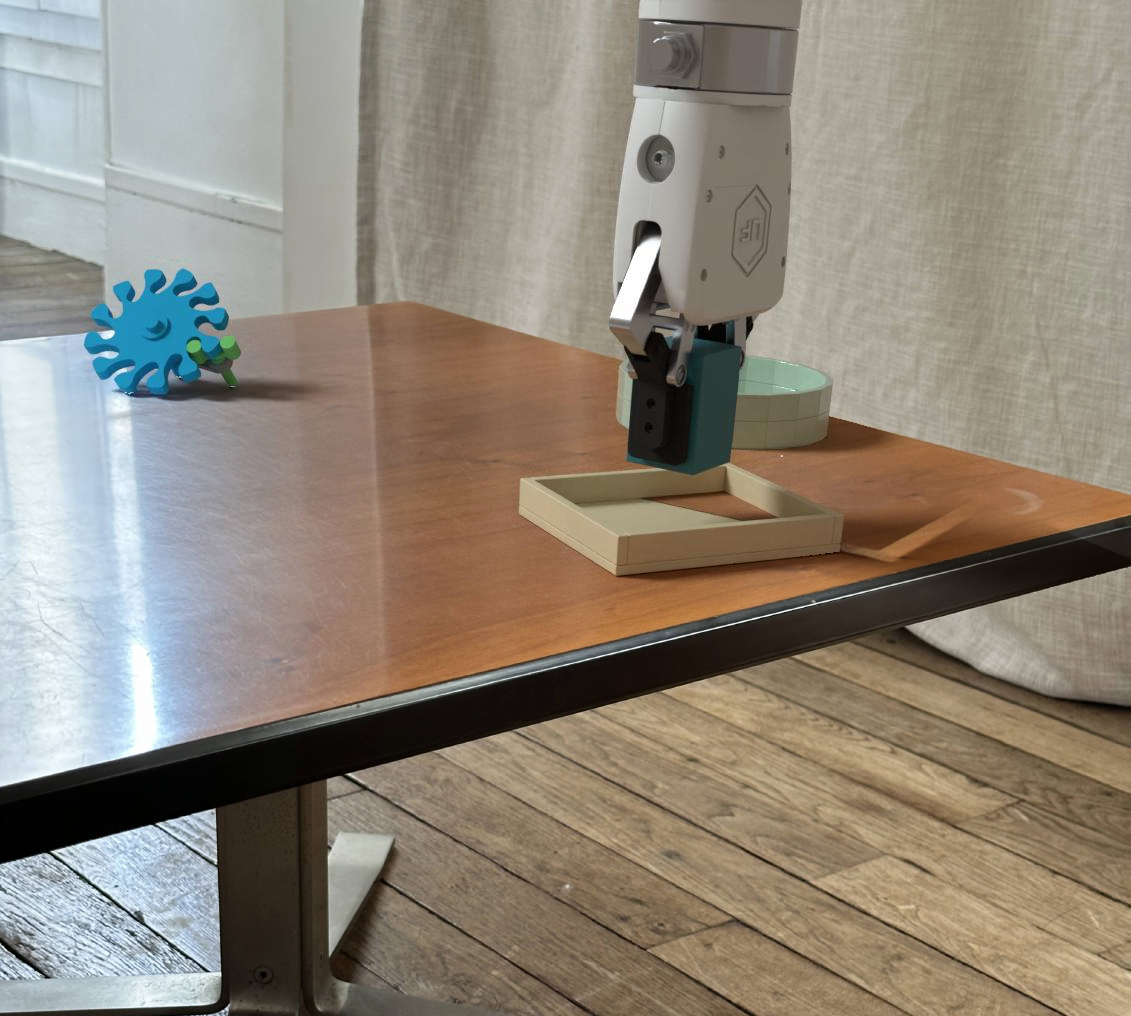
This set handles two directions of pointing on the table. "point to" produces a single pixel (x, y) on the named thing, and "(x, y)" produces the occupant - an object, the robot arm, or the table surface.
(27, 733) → the table surface
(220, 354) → the gear
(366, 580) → the table surface
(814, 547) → the tray
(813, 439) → the bowl
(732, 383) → the block
